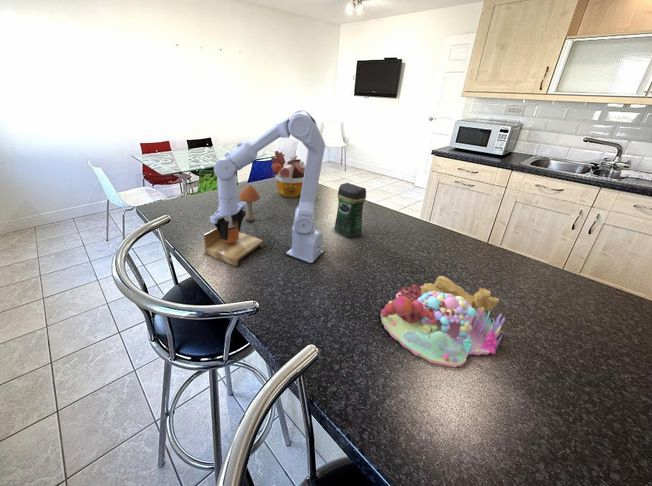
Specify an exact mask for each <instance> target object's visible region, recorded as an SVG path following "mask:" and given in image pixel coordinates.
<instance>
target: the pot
mask: <svg viewBox="0 0 652 486" xmlns="http://www.w3.org/2000/svg"><path fill="white" fill-rule="evenodd" d="M225 221H228V222H230V223H229V225H228V237H227V240H224V239H222V240H223V241H224V242H227V243H233V242H236V241H238V240H239V228H238V226H239V223H238V222H237V221H235V220H232V219H227V220H226V219H225Z"/></svg>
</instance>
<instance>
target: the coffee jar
mask: <svg viewBox="0 0 652 486" xmlns="http://www.w3.org/2000/svg"><path fill="white" fill-rule="evenodd" d="M337 199H338V200H337V201H338V203H337V212H336V217H335V222H334V231H335V232H336V233H338V234H340V235H342V236H344V237H347V238H355V237H358V236H360V235H361V234H362V229H363V211H364V210H363V209H364V203H365V201H366V199H367V189H366V188H365V187H362V186H358V185H355V184H353V183H350V182H344V183H341V184H340V185H339V187H338V190H337Z"/></svg>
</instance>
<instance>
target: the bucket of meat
mask: <svg viewBox="0 0 652 486" xmlns="http://www.w3.org/2000/svg"><path fill="white" fill-rule="evenodd" d="M297 158H298V155H296V154H294V155H293V156H289V159H290V160H289V161H287V162H286V160H285V157H284V153H283V152H281V151H280V152H279V151H278V150H275V151H274V156H271V159H270V160H271V161H272V163H271V169H272V171H273V173H274V176H275V180H276V181H275V182H276V185H277V190H278V193H279V194H280V195H281V196H283V197H284V198H298V197H301V191H302V184H303V178H304V172H305V166H306V164H305V162H304V160H302V159H299V158H298V159H297Z"/></svg>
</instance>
